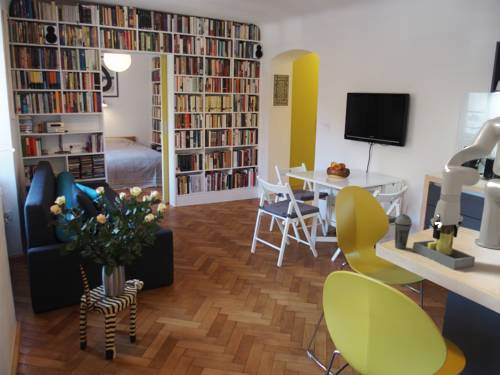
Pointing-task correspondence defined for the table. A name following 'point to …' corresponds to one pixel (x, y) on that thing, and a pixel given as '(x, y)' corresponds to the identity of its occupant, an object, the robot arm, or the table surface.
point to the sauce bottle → (445, 240)
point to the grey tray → (444, 256)
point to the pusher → (432, 245)
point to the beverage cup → (402, 230)
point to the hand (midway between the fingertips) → (444, 237)
